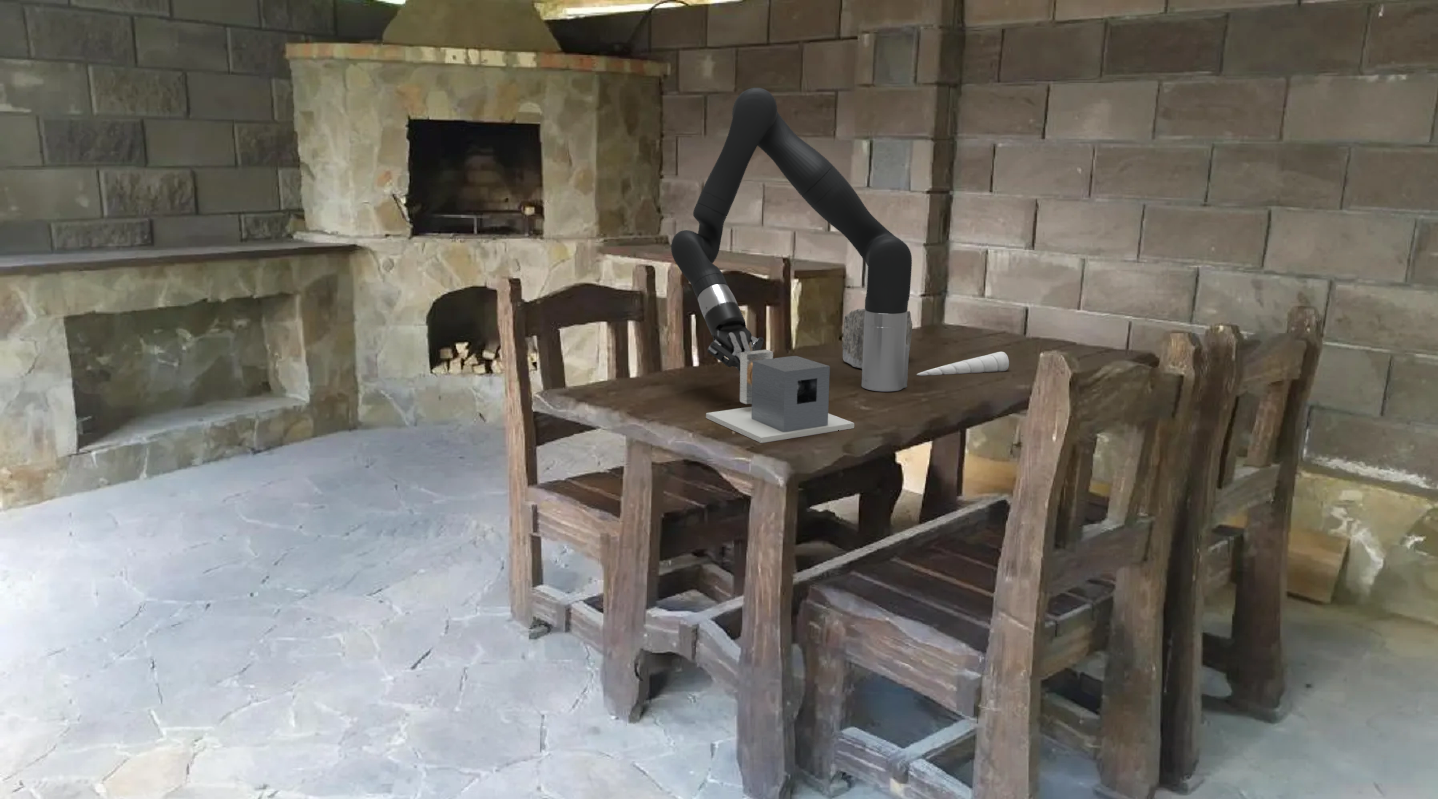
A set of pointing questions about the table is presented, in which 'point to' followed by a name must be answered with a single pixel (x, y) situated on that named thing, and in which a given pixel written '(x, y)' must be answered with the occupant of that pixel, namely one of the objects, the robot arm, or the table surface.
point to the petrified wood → (861, 336)
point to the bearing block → (790, 393)
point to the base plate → (762, 433)
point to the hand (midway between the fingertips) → (751, 380)
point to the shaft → (746, 373)
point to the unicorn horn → (973, 365)
